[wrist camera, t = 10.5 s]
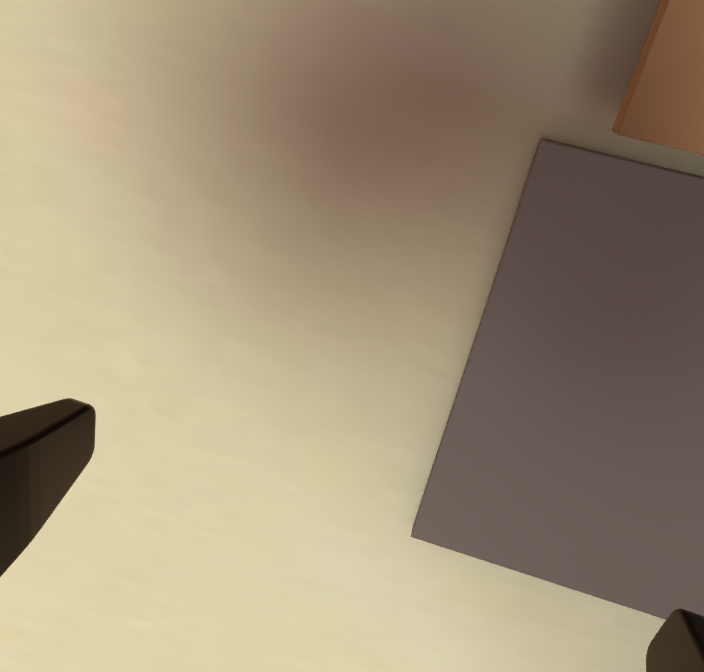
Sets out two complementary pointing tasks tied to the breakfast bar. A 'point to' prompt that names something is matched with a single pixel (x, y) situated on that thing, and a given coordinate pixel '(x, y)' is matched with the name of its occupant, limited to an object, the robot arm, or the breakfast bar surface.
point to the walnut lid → (669, 81)
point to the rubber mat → (586, 390)
